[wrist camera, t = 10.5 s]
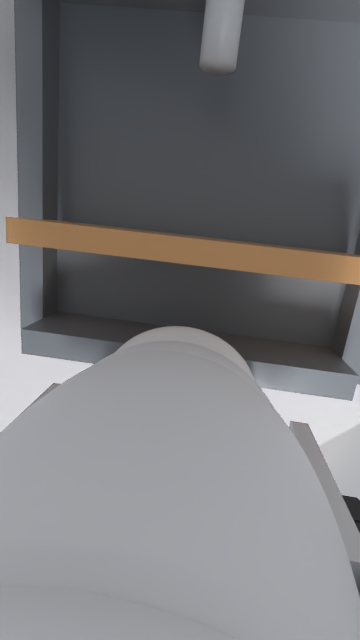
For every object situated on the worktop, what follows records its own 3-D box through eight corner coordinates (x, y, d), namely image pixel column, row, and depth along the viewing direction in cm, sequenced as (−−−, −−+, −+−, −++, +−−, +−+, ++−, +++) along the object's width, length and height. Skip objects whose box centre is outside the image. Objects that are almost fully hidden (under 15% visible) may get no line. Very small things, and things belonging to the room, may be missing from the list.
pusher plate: (344, 273, 21) (394, 289, 15) (61, 239, 22) (6, 242, 16) (349, 253, 20) (401, 262, 15) (61, 220, 22) (5, 216, 16)
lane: (343, 365, 24) (431, 458, 14) (43, 324, 25) (-64, 383, 16) (436, 5, 18) (689, -253, 8) (42, -19, 20) (-125, -261, 10)
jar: (236, 272, 16) (404, 600, 2) (302, 448, 18) (624, 1245, 4) (51, 346, 18) (-556, 775, 4) (130, 496, 20) (-76, 1143, 6)
